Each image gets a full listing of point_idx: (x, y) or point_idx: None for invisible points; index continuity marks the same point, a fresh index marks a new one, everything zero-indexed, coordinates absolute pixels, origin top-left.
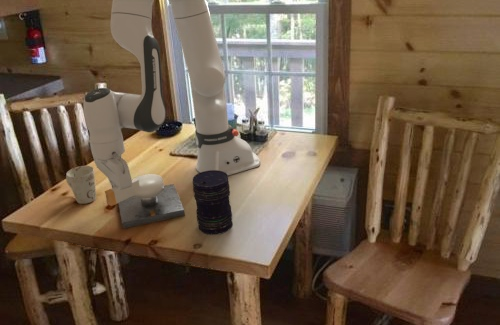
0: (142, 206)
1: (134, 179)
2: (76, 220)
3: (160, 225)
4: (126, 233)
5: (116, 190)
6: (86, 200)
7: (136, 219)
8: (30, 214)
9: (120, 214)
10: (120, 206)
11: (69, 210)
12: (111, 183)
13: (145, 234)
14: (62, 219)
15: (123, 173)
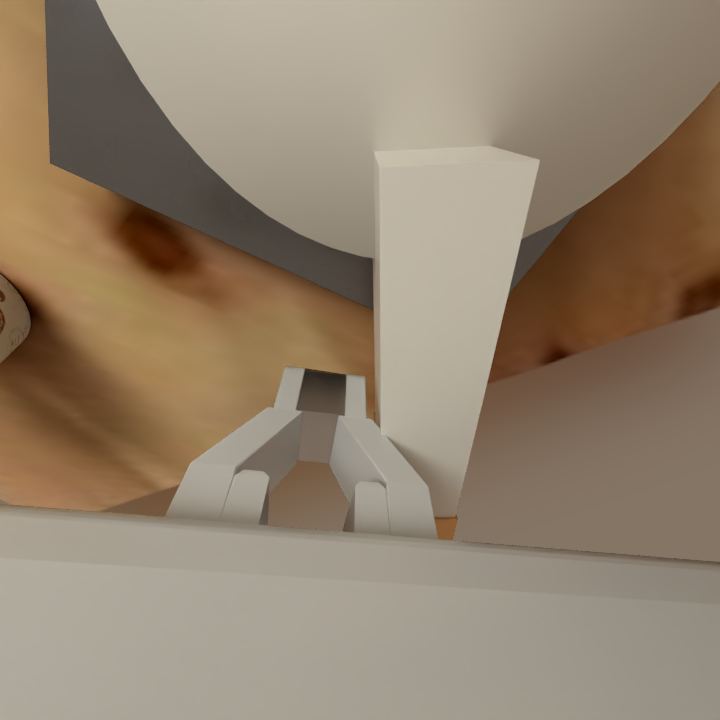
0: None
1: (427, 203)
2: (204, 414)
3: (657, 156)
4: (502, 338)
5: (459, 494)
6: (17, 330)
7: (518, 278)
8: (41, 484)
9: (373, 309)
10: (272, 254)
11: (79, 398)
12: (277, 482)
13: (612, 284)
14: (157, 440)
15: (632, 706)
